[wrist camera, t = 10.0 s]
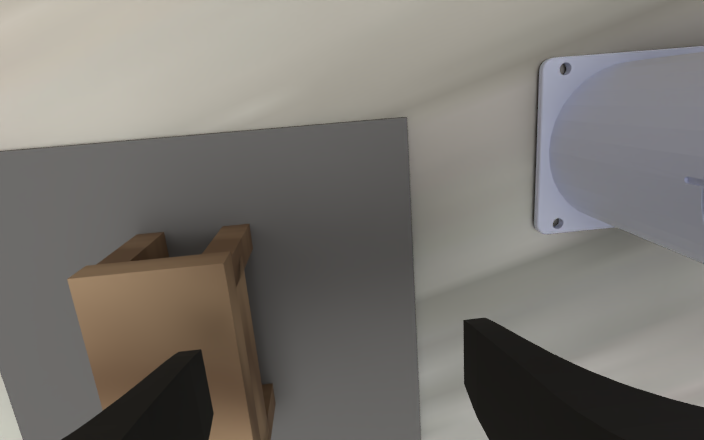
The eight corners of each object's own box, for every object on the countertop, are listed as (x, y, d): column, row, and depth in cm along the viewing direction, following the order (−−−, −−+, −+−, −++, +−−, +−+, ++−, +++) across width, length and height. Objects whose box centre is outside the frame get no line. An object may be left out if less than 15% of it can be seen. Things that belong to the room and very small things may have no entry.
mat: (405, 117, 20) (407, 117, 19) (420, 448, 24) (421, 453, 24) (-64, 156, 18) (-72, 157, 18) (48, 495, 23) (44, 502, 23)
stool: (276, 406, 22) (263, 503, 17) (177, 418, 22) (132, 520, 17) (248, 219, 20) (223, 263, 14) (135, 230, 20) (67, 279, 14)
